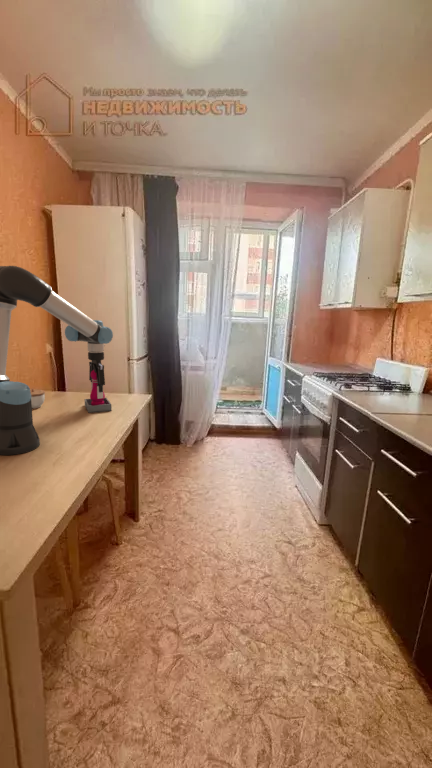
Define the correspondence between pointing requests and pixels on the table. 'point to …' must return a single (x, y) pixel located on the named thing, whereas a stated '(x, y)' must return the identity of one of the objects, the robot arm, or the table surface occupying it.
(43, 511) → the table surface
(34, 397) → the lidded jar
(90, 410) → the bin
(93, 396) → the pepper mill
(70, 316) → the robot arm
